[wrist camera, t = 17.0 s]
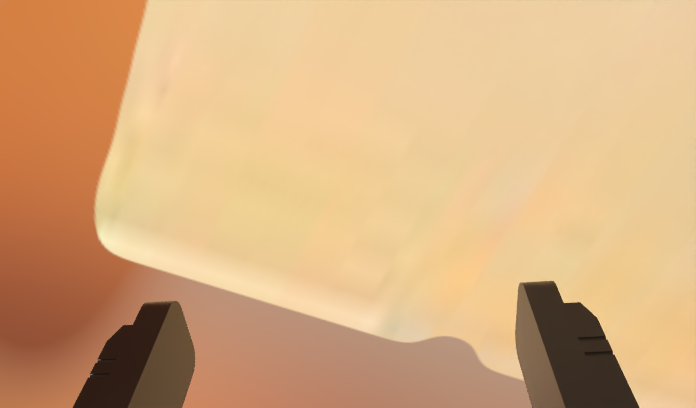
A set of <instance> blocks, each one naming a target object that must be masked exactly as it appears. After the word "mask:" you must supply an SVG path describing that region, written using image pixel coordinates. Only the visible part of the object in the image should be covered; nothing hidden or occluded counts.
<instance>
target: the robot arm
mask: <svg viewBox="0 0 696 408" xmlns="http://www.w3.org/2000/svg"><path fill="white" fill-rule="evenodd" d="M515 338H516V349H517V355H518V359H519V363H520V366H521V370H522V373H523V377H524V380H525V384H526V387H527V391H528V394H529V398H530V401H531V405H532V408H639V406H638V404H637V402H636V399H635V397H634V395H633V393H632V391H631V389H630V387H629V385H628V383H627V380H626V378H625V376H624V374H623V372H622V370H621V368H620V366H619V363H618V361H617V359H616V357H615V355H613V351H612V349H611V346H610V344H609V342H608V340H606V336H605V334H604V332H603V330H602V327H601V325H600V323H599V321H598V319H597V317H595V316H594V315H593V314H592V313H591V312H590V311H589V310H588V309H587V308H586V307H584V306H583V305H582V304H581V303H580V302H578V303H563V300H562V298H561V296H560V293H559V291H558V288H557V286H556V284H555V282H554V281H544V282H526V283H520V284H519V288H518V301H517V315H516V330H515ZM194 366H195V351H194V346H193V343H192V340H191V336H190V333H189V330H188V327H187V324H186V321H185V318H184V315H183V312H182V309H181V306H180V304H179V303H178V302H177V301H165V302H148V303H144V304H143V306H142V307H141V309H140V311H139V313H138V315H137V317H136V320H135V322H134V324H133V325H124V326H122V327H121V328H120V329H119V330H118V331H117V332H116V333H115V334H114V335H113V336H112V337H111V338H110V339H109V340H108V341H107V342H106V344H105V346H104V348H103V350H102V352H101V354H100V356H99V358H98V363H96V364H95V365H94V367H93V369H92V371H91V373H90V378H88V379H87V381H86V383H85V385H84V387H83V389H82V391H81V393H80V394H79V396H78V398H77V400H76V402H75V404H74V406H73V408H182V406H183V403H184V400H185V397H186V394H187V391H188V388H189V385H190V382H191V378H192V375H193V372H194Z"/></svg>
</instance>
